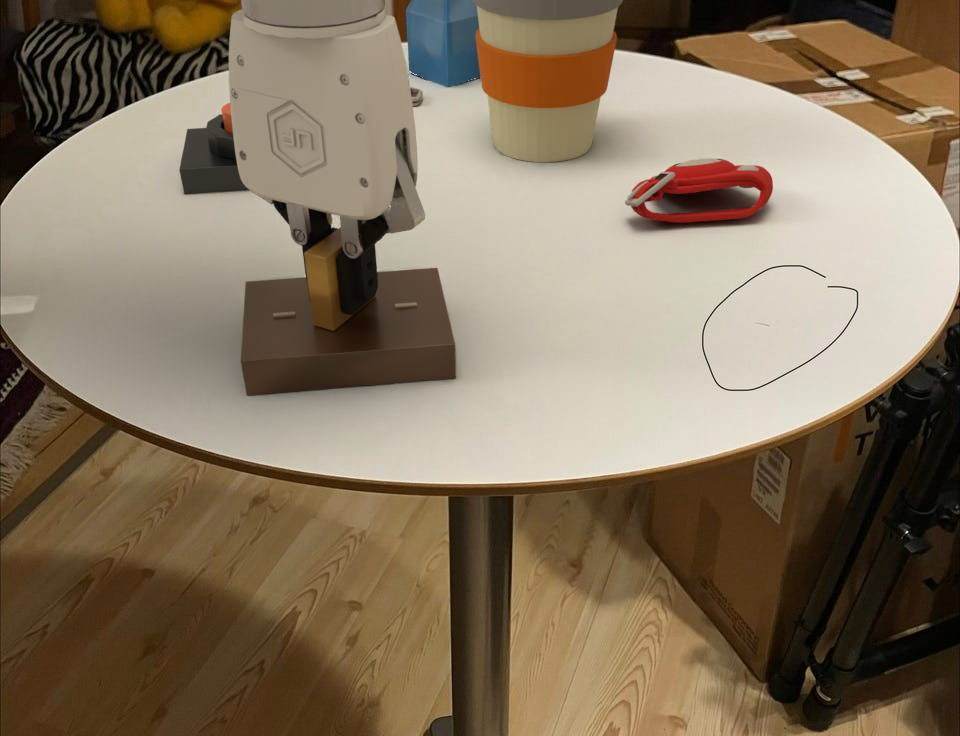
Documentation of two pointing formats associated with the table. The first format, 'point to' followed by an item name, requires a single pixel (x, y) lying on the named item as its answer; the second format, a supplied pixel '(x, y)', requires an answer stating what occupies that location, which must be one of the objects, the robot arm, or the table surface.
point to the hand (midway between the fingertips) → (343, 298)
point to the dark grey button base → (210, 160)
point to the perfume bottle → (443, 40)
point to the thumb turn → (325, 282)
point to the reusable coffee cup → (545, 73)
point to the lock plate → (346, 336)
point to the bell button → (227, 117)
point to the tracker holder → (701, 188)
